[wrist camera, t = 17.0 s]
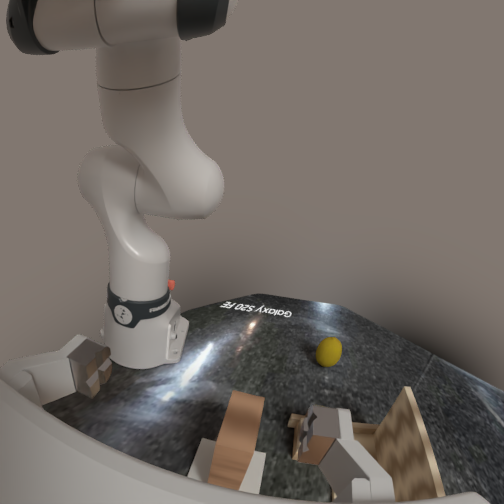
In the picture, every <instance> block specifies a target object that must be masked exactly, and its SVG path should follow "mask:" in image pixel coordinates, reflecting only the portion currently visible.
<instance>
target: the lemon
mask: <svg viewBox="0 0 504 504" xmlns="http://www.w3.org/2000/svg"><path fill="white" fill-rule="evenodd" d="M341 353H342V345H341V343H340V341H339V340H338V339H336V338H335V337H328V338H325V339H324V340H322V341H321V343H320V344H319V346H318V348H317V350H316V360H317V362H318V363H319V364H320V365H321V366H322V367H331V366H333V365H335V364H336V363H337V362H338V360H339V359H340V357H341Z"/></svg>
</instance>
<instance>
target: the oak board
mask: <svg viewBox="0 0 504 504" xmlns="http://www.w3.org/2000/svg"><path fill="white" fill-rule="evenodd" d="M264 399H265V398H264V397H259V396H255V395H251V394H246V393H242V392H238V391H234V390H233V392H232V395H231V398H230V401H229V405H228V408H227V411H226V414H225V417H224V420H223V423H222V426H221V429H220V432H219V435H218V438H217V441H216V445H215V449H214V454H213V459H212V464H211V468H210V473H209V478H208V482H207V483H210V484H214V485H218V486H222V487H226V488H230V489H234V490H239V488H240V486H241V483H242V481H243V479H244V476H245V474H246V471H247V469H248V466H249V464H250V462H251V459H252V457H253V454H254V450H255V445H256V440H257V435H258V430H259V425H260V420H261V415H262V409H263V404H264Z"/></svg>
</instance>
